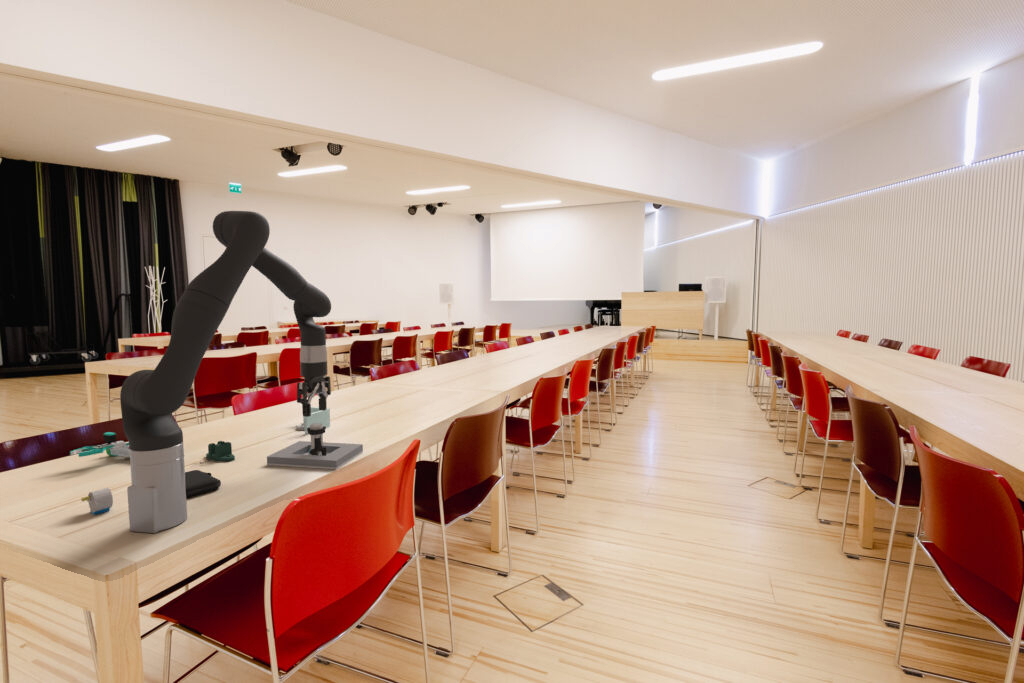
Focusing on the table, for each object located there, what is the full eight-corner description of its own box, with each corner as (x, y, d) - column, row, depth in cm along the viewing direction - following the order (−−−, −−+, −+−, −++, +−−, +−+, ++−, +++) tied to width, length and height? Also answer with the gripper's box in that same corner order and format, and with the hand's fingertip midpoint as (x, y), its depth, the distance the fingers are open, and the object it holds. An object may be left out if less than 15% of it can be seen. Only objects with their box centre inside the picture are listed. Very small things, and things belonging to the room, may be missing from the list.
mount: (239, 459, 146) (238, 443, 145) (225, 463, 141) (224, 447, 141) (215, 454, 150) (214, 439, 149) (201, 458, 146) (200, 442, 145)
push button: (311, 462, 141) (310, 428, 140) (300, 458, 144) (299, 426, 143) (330, 456, 146) (329, 424, 146) (319, 453, 149) (318, 421, 148)
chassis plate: (336, 469, 136) (336, 460, 136) (267, 464, 140) (266, 456, 140) (362, 452, 152) (362, 444, 152) (299, 448, 156) (299, 441, 155)
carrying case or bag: (228, 488, 123) (204, 476, 132) (228, 477, 123) (203, 465, 131) (181, 502, 114) (158, 488, 123) (180, 490, 114) (157, 477, 123)
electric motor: (78, 512, 108) (76, 491, 108) (104, 505, 112) (103, 484, 112) (88, 520, 104) (86, 498, 104) (115, 512, 108) (114, 491, 108)
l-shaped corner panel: (305, 424, 188) (304, 406, 187) (330, 427, 184) (329, 408, 183) (281, 432, 177) (280, 412, 176) (307, 435, 173) (306, 415, 172)
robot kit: (58, 470, 136) (55, 438, 135) (149, 445, 160) (148, 418, 159) (100, 478, 130) (97, 445, 129) (189, 451, 153) (187, 423, 153)
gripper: (311, 363, 136) (313, 419, 137) (337, 357, 150) (338, 408, 151) (287, 362, 137) (289, 418, 138) (315, 357, 151) (316, 407, 152)
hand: (315, 413), depth 145 cm, fingers open, 8 cm apart
